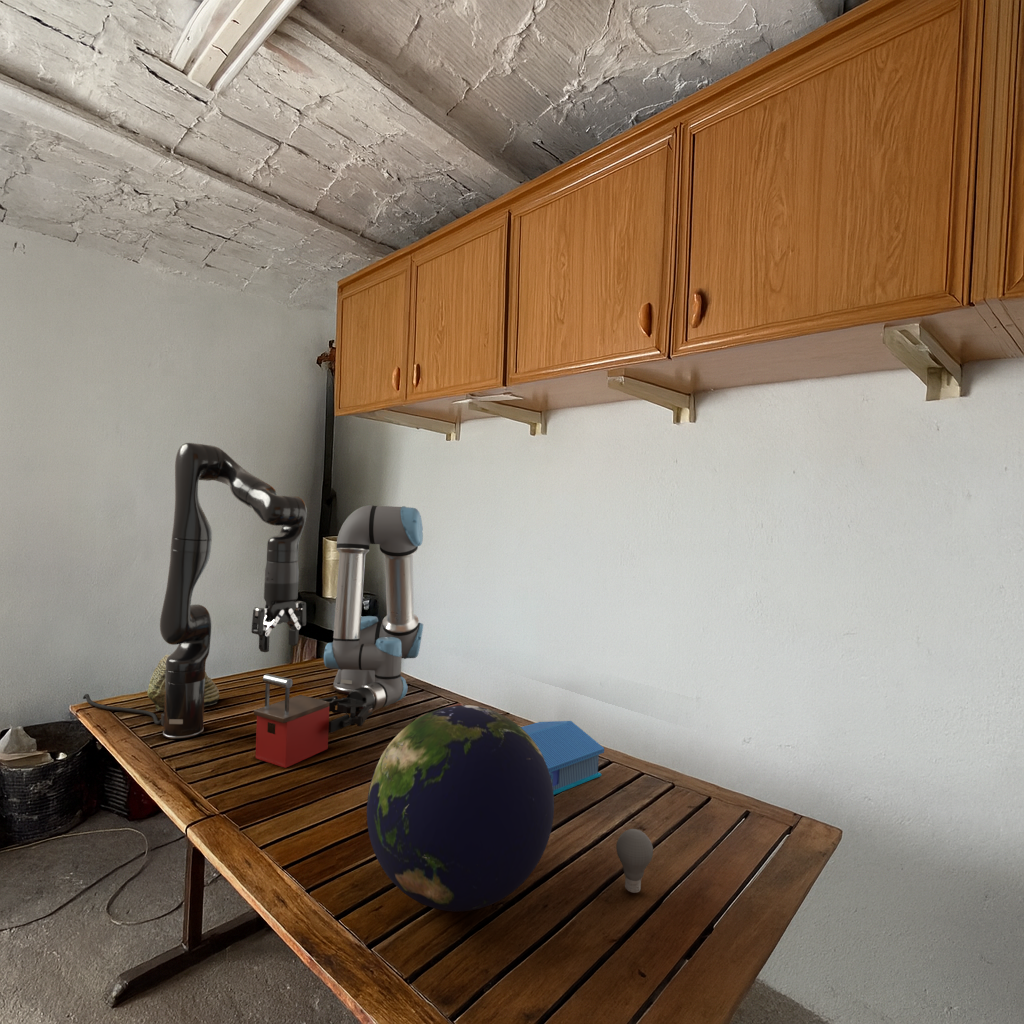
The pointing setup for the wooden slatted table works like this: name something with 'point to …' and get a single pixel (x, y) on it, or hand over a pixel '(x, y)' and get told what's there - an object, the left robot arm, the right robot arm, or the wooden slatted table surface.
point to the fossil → (158, 687)
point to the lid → (287, 702)
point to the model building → (566, 753)
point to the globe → (460, 808)
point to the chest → (292, 738)
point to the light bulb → (634, 857)
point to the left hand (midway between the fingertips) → (279, 648)
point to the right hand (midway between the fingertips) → (309, 721)
